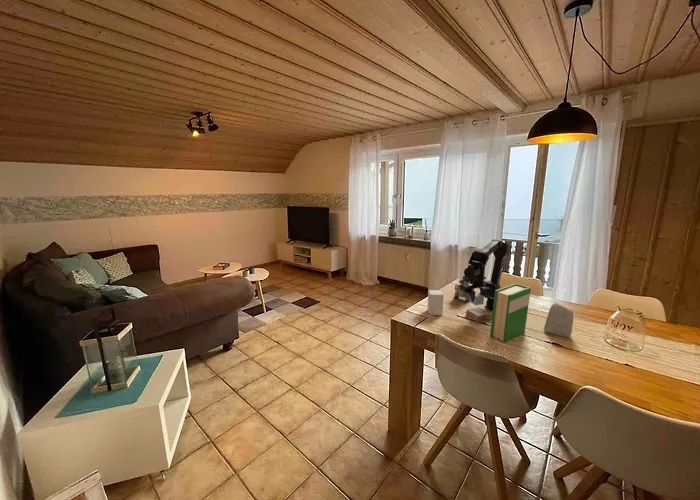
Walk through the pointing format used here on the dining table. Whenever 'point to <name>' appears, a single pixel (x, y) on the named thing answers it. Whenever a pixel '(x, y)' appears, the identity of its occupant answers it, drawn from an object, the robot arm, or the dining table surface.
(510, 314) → the hardback book
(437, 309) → the supplement box
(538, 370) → the dining table surface
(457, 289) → the figurine
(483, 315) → the walnut block
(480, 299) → the slate cube
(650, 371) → the dining table surface
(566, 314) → the decorative stone
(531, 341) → the dining table surface
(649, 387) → the dining table surface
